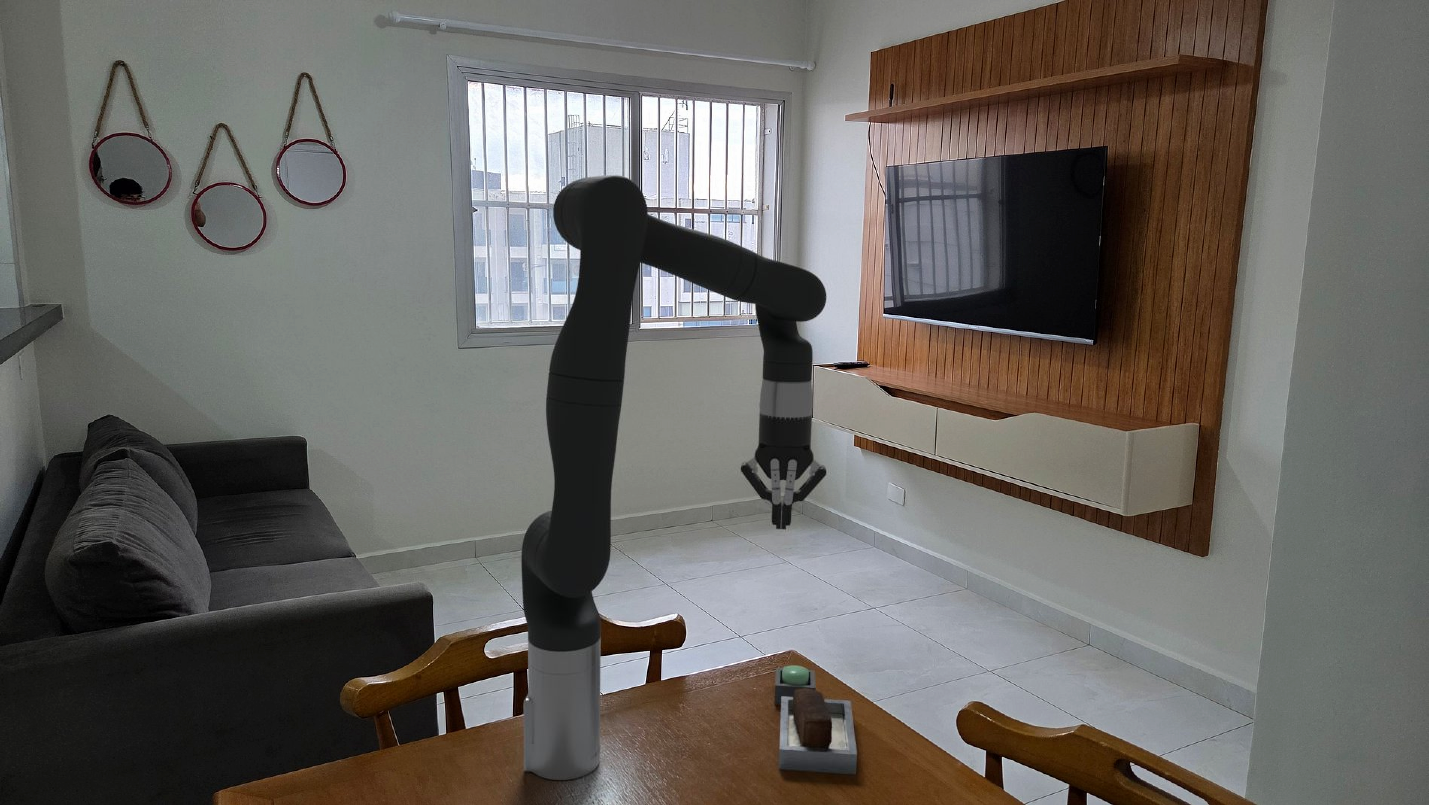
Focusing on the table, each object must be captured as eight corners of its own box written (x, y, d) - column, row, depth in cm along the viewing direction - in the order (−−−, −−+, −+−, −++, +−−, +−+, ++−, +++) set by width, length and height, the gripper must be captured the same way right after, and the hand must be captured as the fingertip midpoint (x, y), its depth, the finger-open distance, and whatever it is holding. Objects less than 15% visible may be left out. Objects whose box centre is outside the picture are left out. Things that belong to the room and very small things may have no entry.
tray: (778, 769, 123) (779, 749, 123) (780, 714, 138) (781, 696, 138) (855, 774, 122) (857, 754, 122) (849, 718, 137) (850, 700, 137)
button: (781, 691, 142) (782, 676, 141) (781, 680, 146) (782, 664, 145) (808, 693, 141) (809, 677, 141) (807, 681, 145) (808, 666, 145)
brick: (831, 753, 125) (833, 720, 124) (802, 753, 125) (803, 720, 124) (818, 715, 136) (820, 684, 135) (791, 715, 135) (792, 684, 135)
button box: (774, 704, 141) (775, 685, 141) (775, 686, 147) (776, 668, 146) (814, 706, 141) (815, 687, 140) (813, 688, 146) (814, 670, 146)
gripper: (738, 413, 132) (734, 533, 135) (833, 417, 131) (827, 537, 134) (741, 405, 139) (737, 518, 142) (831, 408, 138) (825, 523, 141)
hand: (781, 527), depth 138 cm, fingers closed
